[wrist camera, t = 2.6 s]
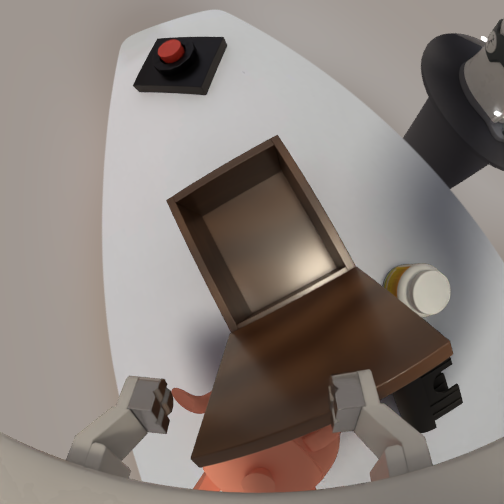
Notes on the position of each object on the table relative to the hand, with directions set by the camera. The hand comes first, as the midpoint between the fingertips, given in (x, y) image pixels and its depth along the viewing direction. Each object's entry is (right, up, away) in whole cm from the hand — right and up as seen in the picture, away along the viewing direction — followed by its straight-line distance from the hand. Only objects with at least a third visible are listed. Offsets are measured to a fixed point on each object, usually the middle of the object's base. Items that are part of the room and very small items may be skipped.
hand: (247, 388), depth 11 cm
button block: (-11, +34, +30) cm, 46 cm away
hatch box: (+2, +6, +26) cm, 26 cm away
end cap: (+20, -10, +21) cm, 31 cm away
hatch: (+3, 0, +8) cm, 8 cm away
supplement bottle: (+18, +1, +22) cm, 29 cm away
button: (-11, +34, +26) cm, 44 cm away
